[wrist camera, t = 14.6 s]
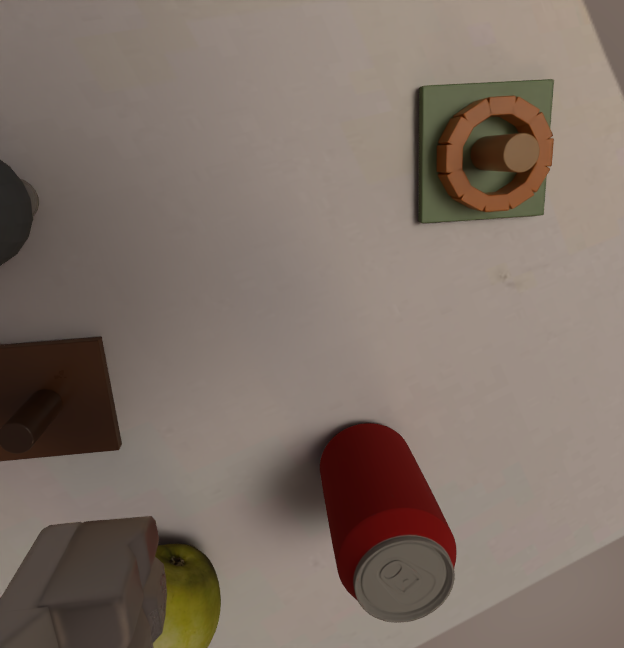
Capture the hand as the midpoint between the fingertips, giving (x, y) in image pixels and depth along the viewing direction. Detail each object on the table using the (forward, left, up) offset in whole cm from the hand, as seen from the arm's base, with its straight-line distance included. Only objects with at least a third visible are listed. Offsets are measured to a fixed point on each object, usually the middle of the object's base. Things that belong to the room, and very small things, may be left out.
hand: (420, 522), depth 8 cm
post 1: (+9, -17, -27) cm, 33 cm away
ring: (-5, +12, -26) cm, 29 cm away
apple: (+24, -11, -27) cm, 38 cm away
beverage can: (+16, +4, -27) cm, 32 cm away
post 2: (-5, +12, -27) cm, 30 cm away
